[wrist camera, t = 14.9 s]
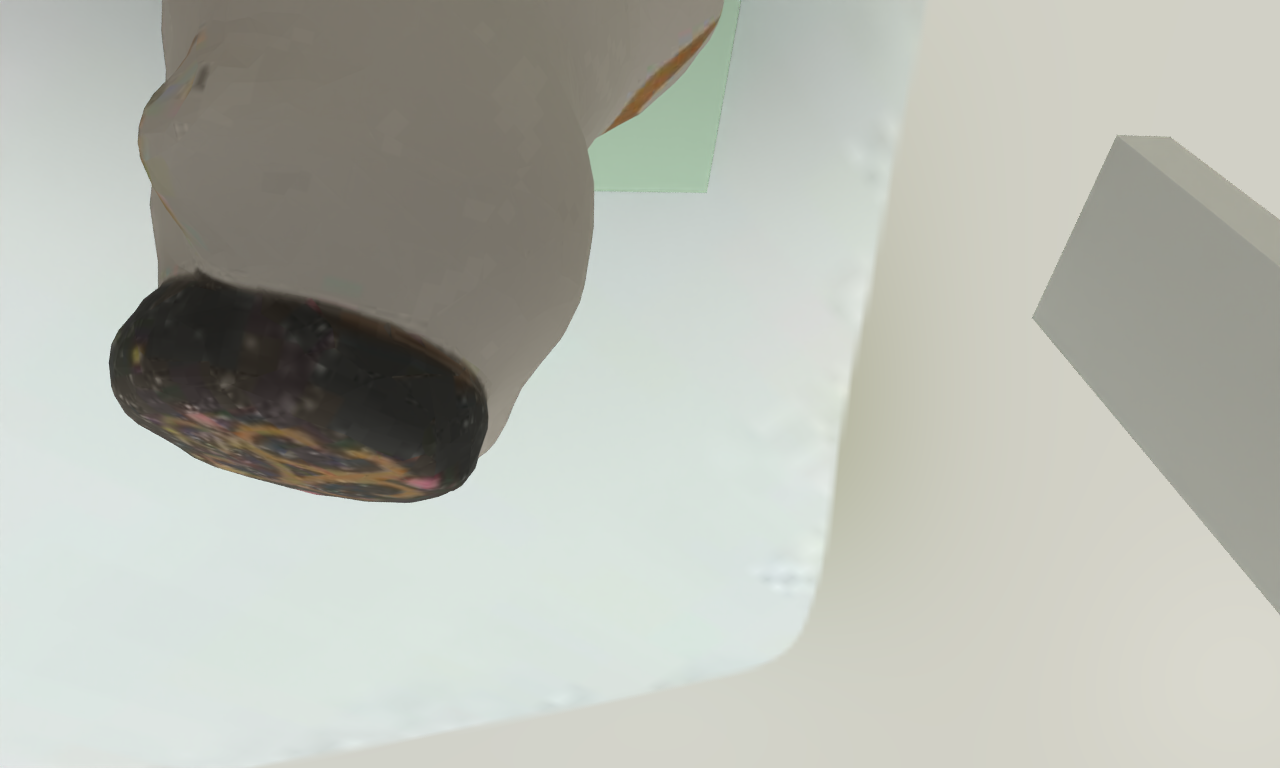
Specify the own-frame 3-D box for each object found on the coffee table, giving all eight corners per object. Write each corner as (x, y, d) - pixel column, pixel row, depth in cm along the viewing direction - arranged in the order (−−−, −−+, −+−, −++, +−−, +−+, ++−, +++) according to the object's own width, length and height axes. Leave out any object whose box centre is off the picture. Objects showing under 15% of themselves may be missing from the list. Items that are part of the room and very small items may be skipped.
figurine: (144, -279, 18) (-278, -30, 7) (679, -332, 19) (1114, -198, 8) (287, 156, 23) (192, 695, 12) (693, 95, 25) (955, 539, 13)
